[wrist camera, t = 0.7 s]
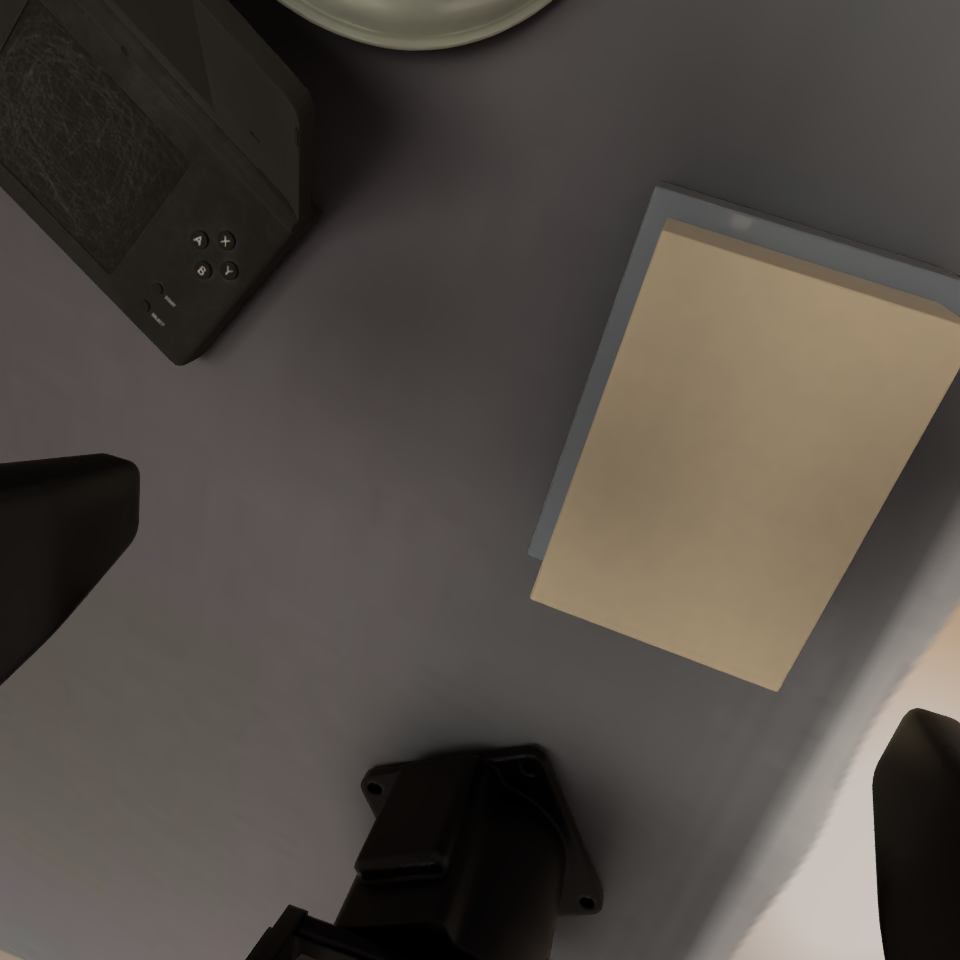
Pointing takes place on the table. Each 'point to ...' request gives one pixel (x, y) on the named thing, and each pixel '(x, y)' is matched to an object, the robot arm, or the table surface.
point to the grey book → (747, 228)
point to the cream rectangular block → (742, 450)
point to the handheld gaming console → (156, 153)
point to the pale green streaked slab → (415, 20)
